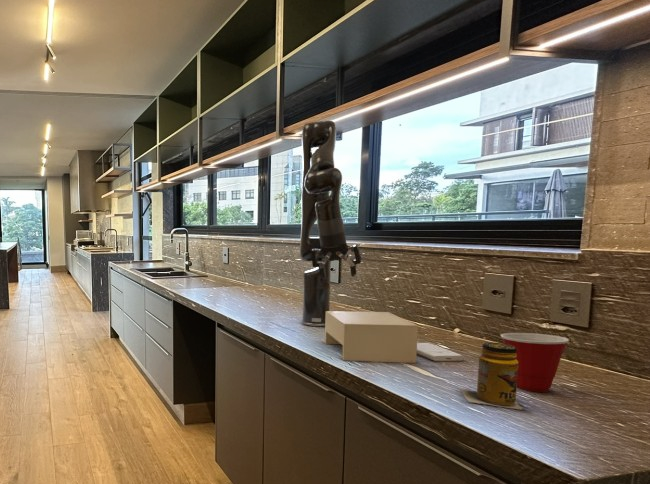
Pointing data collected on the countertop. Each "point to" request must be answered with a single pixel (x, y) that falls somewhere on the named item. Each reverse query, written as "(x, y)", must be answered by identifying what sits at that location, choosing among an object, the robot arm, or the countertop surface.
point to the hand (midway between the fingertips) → (338, 276)
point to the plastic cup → (536, 358)
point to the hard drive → (437, 353)
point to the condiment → (496, 376)
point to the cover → (372, 336)
